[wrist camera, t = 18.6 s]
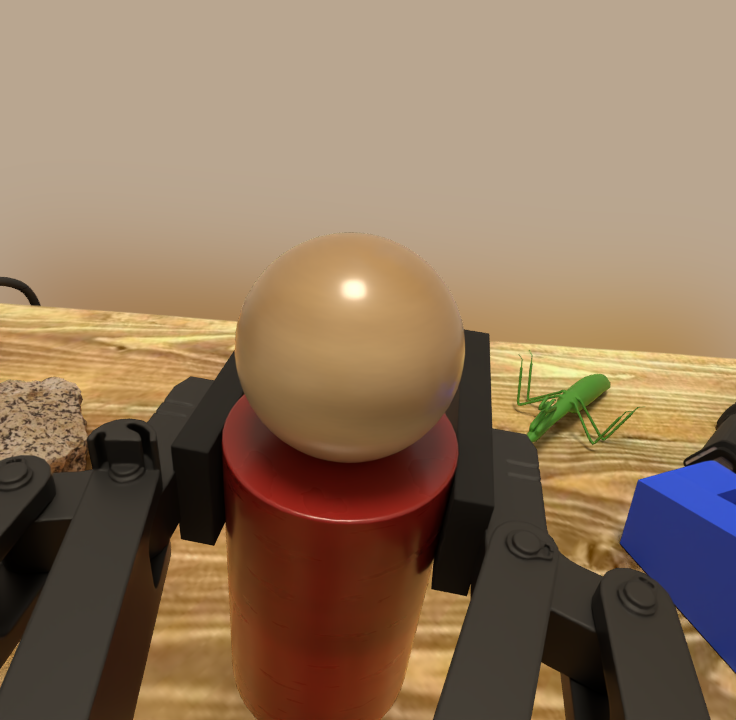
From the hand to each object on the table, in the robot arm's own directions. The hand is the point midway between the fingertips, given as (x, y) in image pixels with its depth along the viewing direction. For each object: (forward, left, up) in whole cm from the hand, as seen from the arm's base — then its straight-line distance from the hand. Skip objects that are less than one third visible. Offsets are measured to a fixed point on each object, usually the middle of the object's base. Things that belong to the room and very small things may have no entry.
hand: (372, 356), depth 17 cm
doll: (+5, -1, -7) cm, 8 cm away
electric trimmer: (-28, +33, -16) cm, 46 cm away
